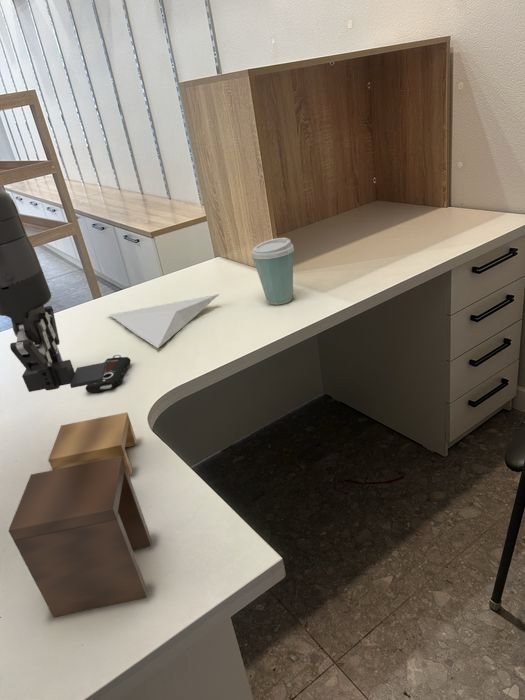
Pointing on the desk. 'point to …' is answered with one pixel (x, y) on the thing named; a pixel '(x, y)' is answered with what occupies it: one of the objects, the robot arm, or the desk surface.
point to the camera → (111, 374)
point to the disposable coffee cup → (275, 269)
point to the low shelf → (93, 441)
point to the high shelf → (82, 536)
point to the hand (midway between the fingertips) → (55, 382)
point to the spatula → (68, 375)
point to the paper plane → (162, 319)
